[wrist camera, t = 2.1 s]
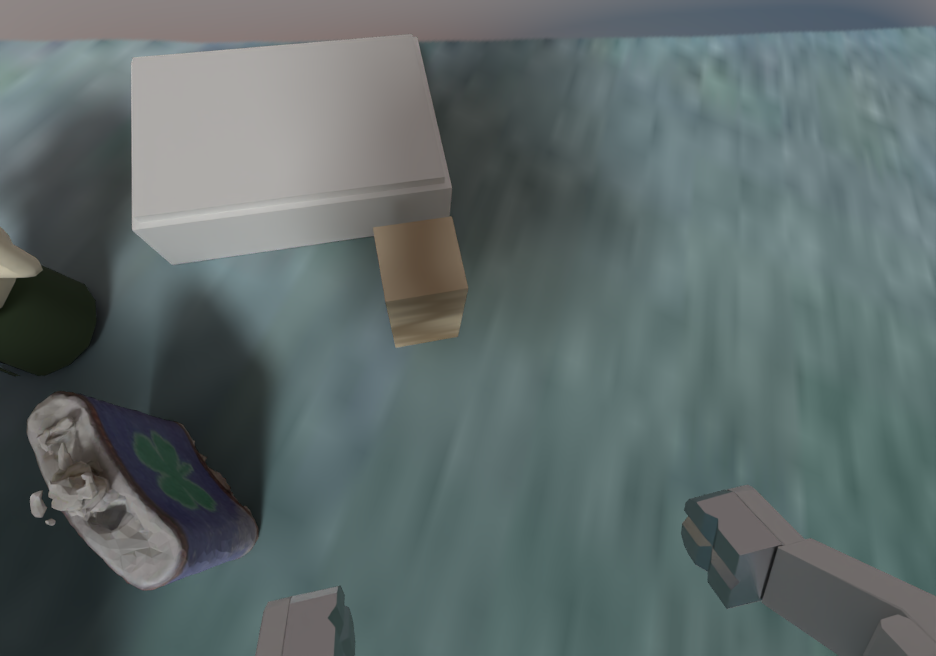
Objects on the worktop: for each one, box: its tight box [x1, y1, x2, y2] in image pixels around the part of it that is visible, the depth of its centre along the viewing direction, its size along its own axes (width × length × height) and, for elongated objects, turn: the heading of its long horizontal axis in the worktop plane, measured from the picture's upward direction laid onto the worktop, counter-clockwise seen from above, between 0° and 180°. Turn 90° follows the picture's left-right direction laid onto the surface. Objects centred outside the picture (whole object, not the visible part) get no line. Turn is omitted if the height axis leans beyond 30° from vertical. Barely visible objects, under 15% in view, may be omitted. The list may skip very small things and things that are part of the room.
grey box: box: [131, 34, 452, 265], centre depth 31 cm, size 18×12×5 cm, turn 102°
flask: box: [26, 391, 259, 590], centre depth 22 cm, size 9×3×11 cm, turn 43°
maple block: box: [373, 216, 468, 348], centre depth 27 cm, size 4×4×8 cm
